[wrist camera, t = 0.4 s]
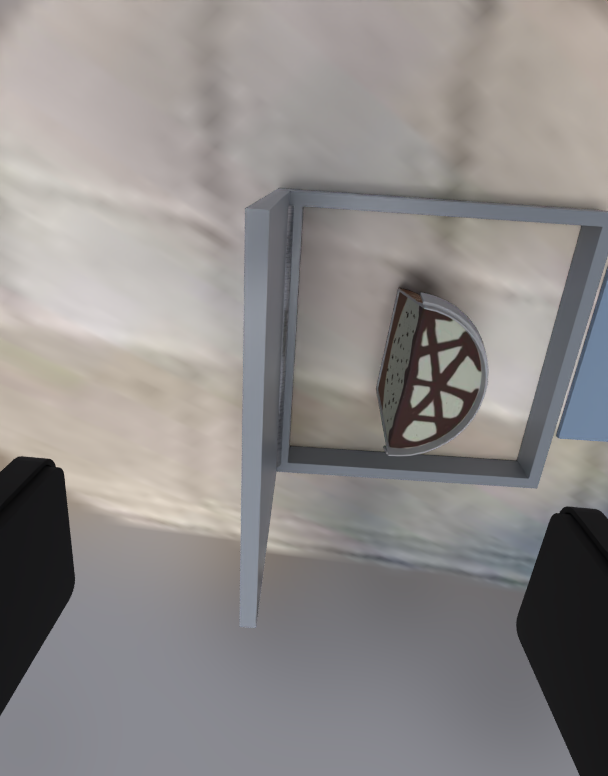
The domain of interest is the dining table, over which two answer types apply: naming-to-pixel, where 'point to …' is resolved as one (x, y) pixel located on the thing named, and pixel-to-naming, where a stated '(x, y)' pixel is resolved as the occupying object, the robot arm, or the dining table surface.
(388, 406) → the food container
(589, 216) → the case
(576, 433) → the mat
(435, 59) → the dining table surface
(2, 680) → the robot arm
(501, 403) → the dining table surface
